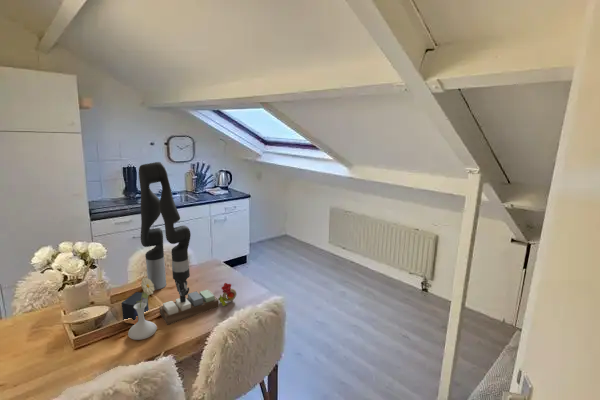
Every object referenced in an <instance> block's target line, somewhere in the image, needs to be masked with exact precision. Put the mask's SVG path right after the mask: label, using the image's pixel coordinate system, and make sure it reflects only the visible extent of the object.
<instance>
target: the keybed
mask: <svg viewBox="0 0 600 400" xmlns="http://www.w3.org/2000/svg"><path fill="white" fill-rule="evenodd" d="M186 299H187V300H188V297H186ZM218 299H219V298H217V297H216V296H215V300H213V301H210V302H207V303H206V302H205V301H204V300H203V304H202V305H199V306H196V307H194V306H193V305H192V304H191V308H190V309H187V310H184V311H181V310H180V309H179V307H178V306H177V305H176V306H177V307H178V313H175V314H172V315H169V316H168V314H167V313H166V312H165V310H164V309H163V305H161V306H159V315H160V314H161V315H160V316H161V318H162V320H163V321H164V322H165V324H166V326H169V325H173V324H175V323H178V322H181V321H184V320H187V319H189V318H192V317H196V316H198V315H201V314H204V313H206V312H210V311H213V310H215V309H217V308H219V307H220V304H219V302H220V301H219V300H218ZM173 302H174V303H175V304H176V301H173Z"/></svg>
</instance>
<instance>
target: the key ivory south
mask: <svg viewBox="0 0 600 400" xmlns="http://www.w3.org/2000/svg"><path fill="white" fill-rule="evenodd" d="M174 302H175V301H173V300H170V301H167V302H162V306H163V309H164V310H165V312H166V313H167V314H168V316H169V315H172V314H175V313H178V307H177V306H176V304H175V303H174Z"/></svg>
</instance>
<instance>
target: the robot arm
mask: <svg viewBox="0 0 600 400" xmlns="http://www.w3.org/2000/svg"><path fill="white" fill-rule="evenodd" d="M138 179H139V188H140V218H141V219H140V221H141V225H140V242H141V243H140V244H141V246H142V247H144V248H147V247H153V248H152V249H150V250H148V251H147V252H146V253H145V265H146V275H147V278H148V279H150V280H151V281H152V284H154V286H153V287H154V290H156V291H157V290H161V289H164V288H165V287H166V286H167V279H166V278H167V274H166V264H165V251H164V233H163V230H162V229H161V227H155V228H151V227H152V225H153V224H154V223H155V222H156V221H157V220H158V219H159V217H160V215H161V217H162V219H163V223H164V230H165V238H166V241H167V242H168V243H169V244H170V245H175V244H177V245H175V246H173V247H172V248H171V250H170V251H171V269H172V270H171V271H172V273H171V274H172V279H173V280H174V283H175V287H176V289H177V292H178V295H179V298H180V301H181V303H183V302H185V301H186V298H187V297H186V296H188V294H189V291H190V287H188V281H187V280H188V278H190V274H191V273H190V262H189V253H188V252H189V251H188V249H189V246H190V242H191V234H192V233H191V230H190V228H189V226H186V225H179V226H177V227H175V226H174V225H175V224H176V223H178V222H179V221H180V219H181V217H180V213H179V210H178V209H177V206H176V204H175V201H174V198H173V192H172V188H171V185H170V180H169V175H168V173H167V170H166V167H165V166H164V164H163V163H162V162H160V161H154V162H150V163H144V164H141V165H140V166H139V168H138ZM159 182H160V184H161V195H160V198H159V197H158V196H157V195H156V194H155V193H154V192H153V191H152V189H151V187H150V185H151V184H154V183H159Z"/></svg>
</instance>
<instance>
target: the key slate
mask: <svg viewBox="0 0 600 400" xmlns="http://www.w3.org/2000/svg"><path fill="white" fill-rule="evenodd" d="M187 298H188V301H189V302H190V303H191V304H192V305H193V306H194V307H196V306H199V305H202V304H203V297H202V296H201V295H200V292H198V291H193V292H190V293H189V292H188V294H187Z"/></svg>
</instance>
